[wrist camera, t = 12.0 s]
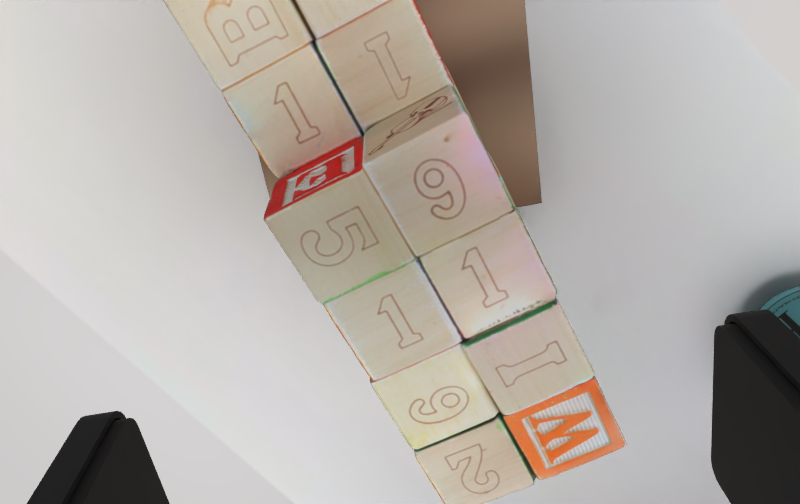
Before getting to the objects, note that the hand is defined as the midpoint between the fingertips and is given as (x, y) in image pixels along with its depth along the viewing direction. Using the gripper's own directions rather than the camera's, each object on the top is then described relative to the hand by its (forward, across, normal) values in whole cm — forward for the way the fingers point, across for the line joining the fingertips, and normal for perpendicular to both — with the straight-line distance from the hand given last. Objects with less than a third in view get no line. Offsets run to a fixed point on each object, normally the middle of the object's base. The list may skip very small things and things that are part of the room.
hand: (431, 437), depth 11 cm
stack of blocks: (+21, 0, -1) cm, 21 cm away
